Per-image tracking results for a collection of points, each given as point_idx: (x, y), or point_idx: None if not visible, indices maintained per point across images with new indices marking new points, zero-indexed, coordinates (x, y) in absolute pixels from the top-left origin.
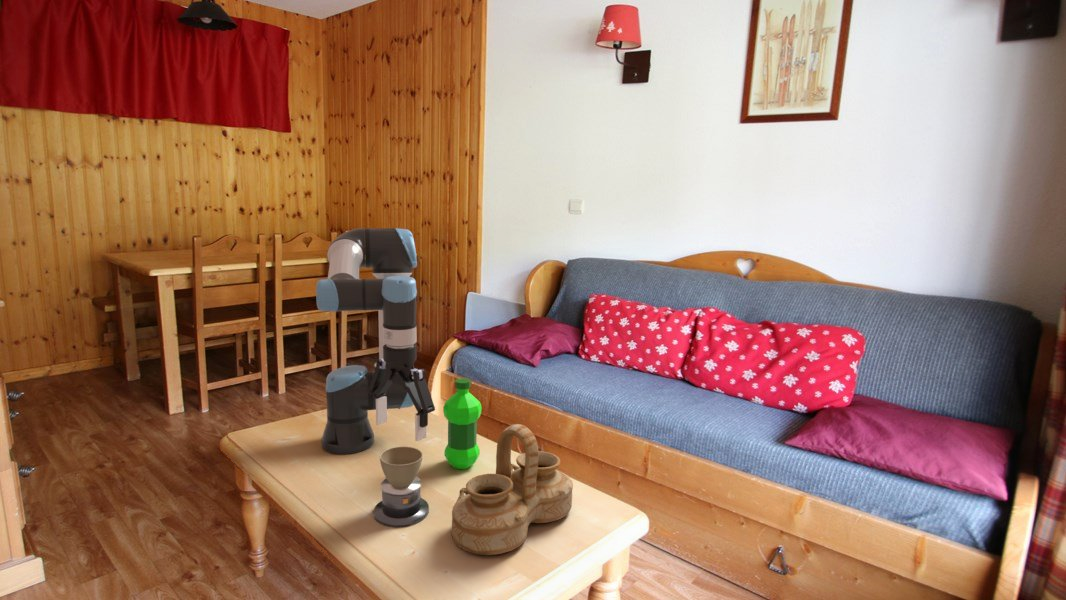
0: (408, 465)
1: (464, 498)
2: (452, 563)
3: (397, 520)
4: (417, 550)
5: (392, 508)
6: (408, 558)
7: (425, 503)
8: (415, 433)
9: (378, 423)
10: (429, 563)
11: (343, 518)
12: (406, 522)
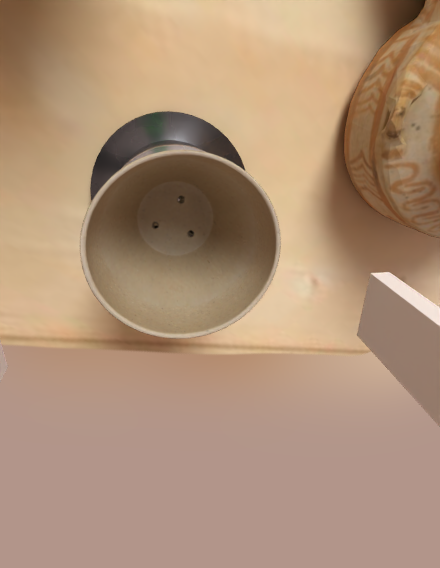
0: (268, 281)
1: (422, 159)
2: (401, 255)
3: None
4: (317, 273)
5: None
6: (319, 300)
7: (204, 129)
8: (383, 361)
9: (2, 373)
10: (362, 284)
11: (86, 307)
12: None
